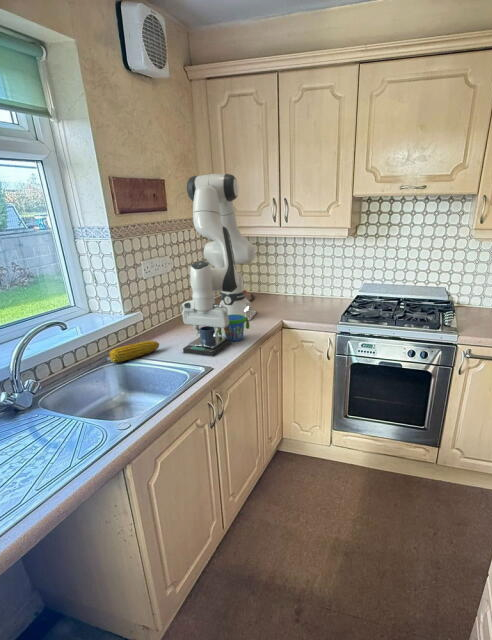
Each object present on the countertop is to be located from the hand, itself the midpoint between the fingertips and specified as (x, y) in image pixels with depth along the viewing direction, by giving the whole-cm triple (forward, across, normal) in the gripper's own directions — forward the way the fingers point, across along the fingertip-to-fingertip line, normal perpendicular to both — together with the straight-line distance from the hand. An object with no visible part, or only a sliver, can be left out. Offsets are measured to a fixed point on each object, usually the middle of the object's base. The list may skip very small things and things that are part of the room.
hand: (207, 335), depth 173 cm
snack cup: (+6, -6, -13) cm, 16 cm away
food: (+6, +23, +19) cm, 30 cm away
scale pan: (+3, 0, 0) cm, 3 cm away
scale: (+5, 0, +1) cm, 5 cm away
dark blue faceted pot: (+2, 0, 0) cm, 2 cm away
